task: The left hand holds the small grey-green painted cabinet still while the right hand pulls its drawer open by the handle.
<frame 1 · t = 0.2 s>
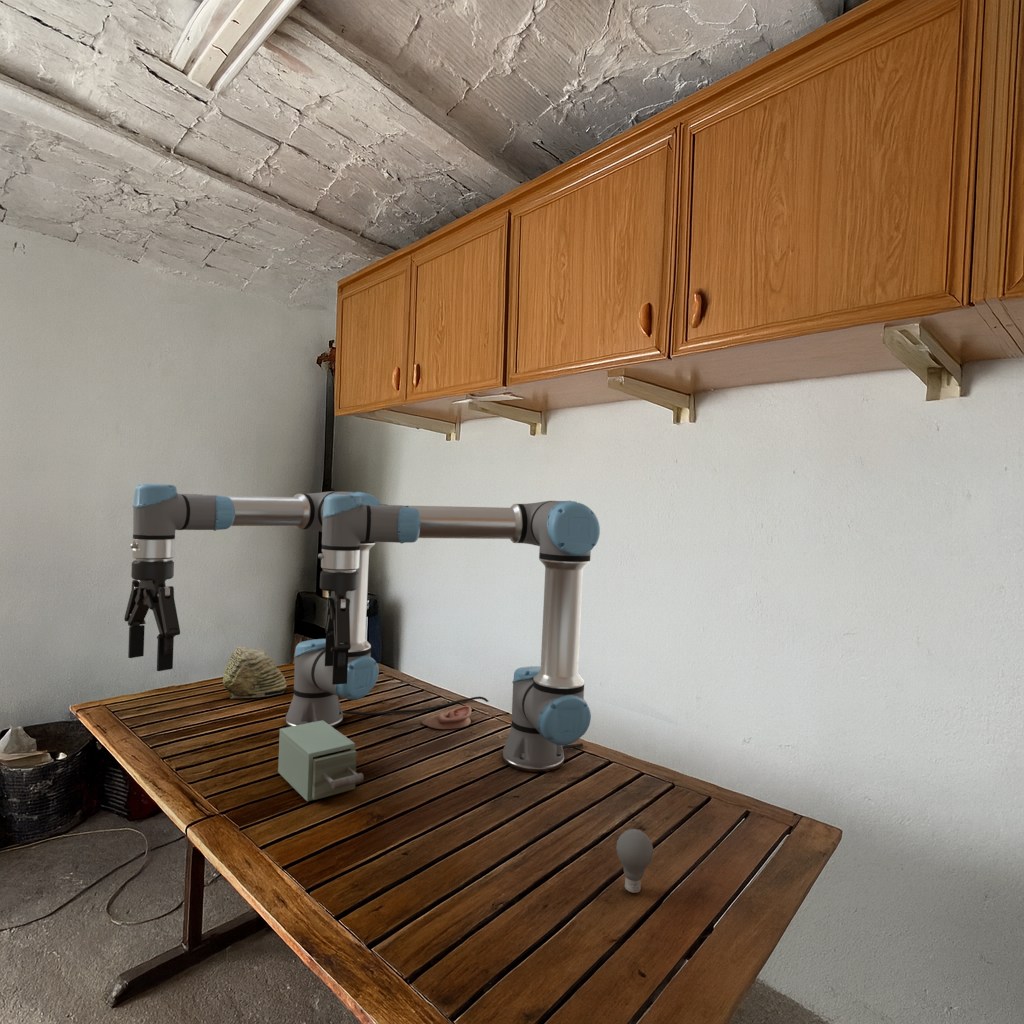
left hand: (149, 663, 129), 28 cm above the table, tool pointing down, fingers open, 13 cm apart
right hand: (335, 674, 129), 27 cm above the table, tool pointing down, fingers open, 13 cm apart
cabinet: (314, 780, 141), on the table
drawer: (326, 767, 137), point 5 cm above the table, slide at 0.9 cm
fossil: (254, 694, 198), on the table
anatomical model: (446, 723, 181), on the table
light bulb: (632, 891, 106), on the table
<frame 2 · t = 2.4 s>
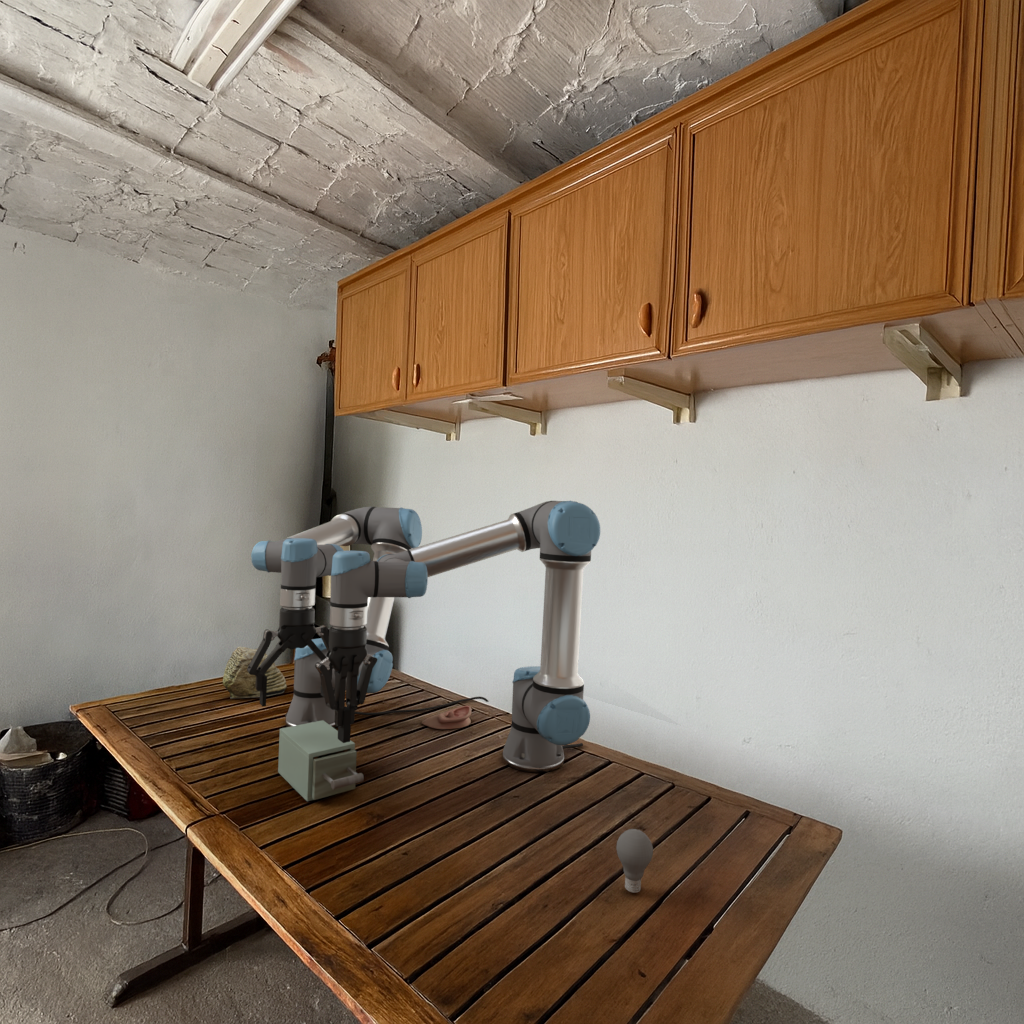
left hand: (294, 700, 144), 17 cm above the table, tool pointing down, fingers open, 13 cm apart
right hand: (343, 740, 130), 14 cm above the table, tool pointing down, fingers closed
nothing on the table moved.
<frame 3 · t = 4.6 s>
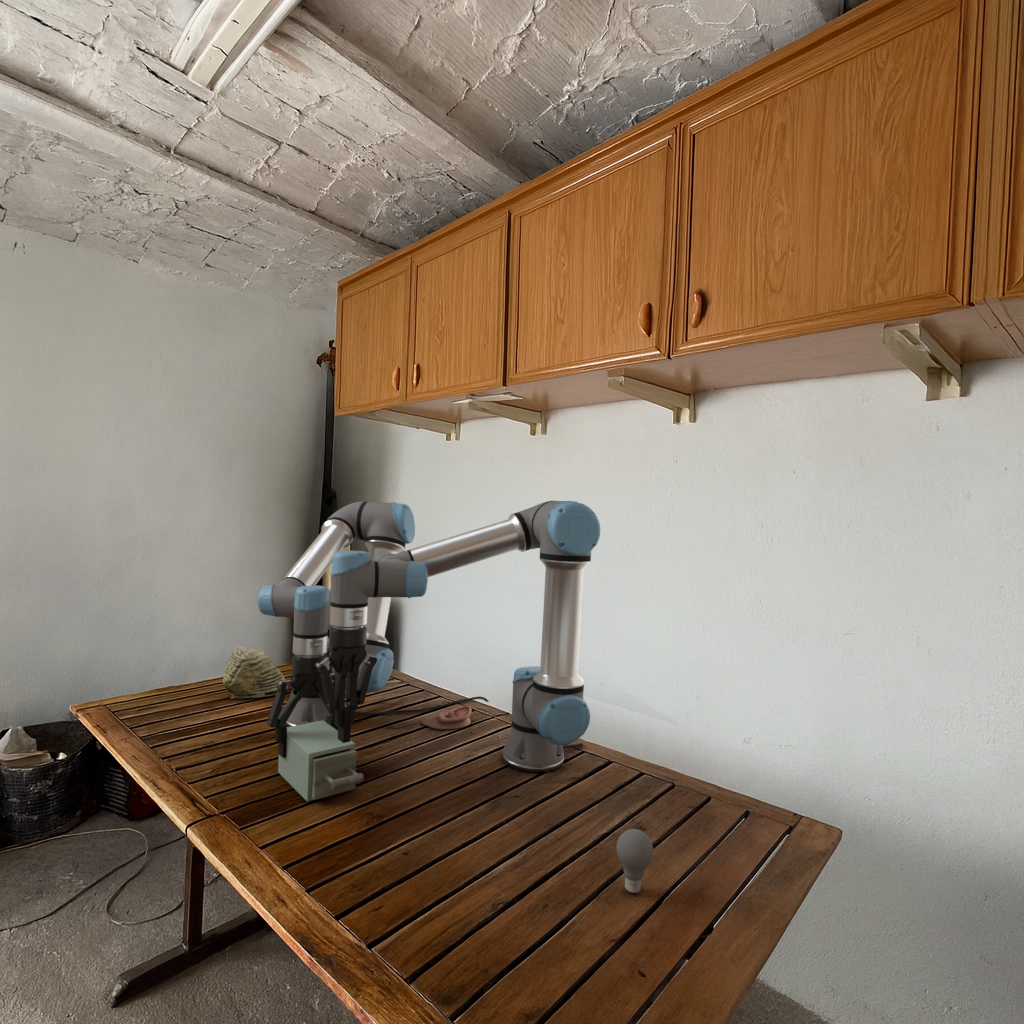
left hand: (306, 750, 145), 5 cm above the table, tool pointing down, fingers closed on cabinet, 10 cm apart
right hand: (343, 740, 130), 14 cm above the table, tool pointing down, fingers closed
cabinet: (314, 780, 141), on the table, touching left hand
everything else where it was.
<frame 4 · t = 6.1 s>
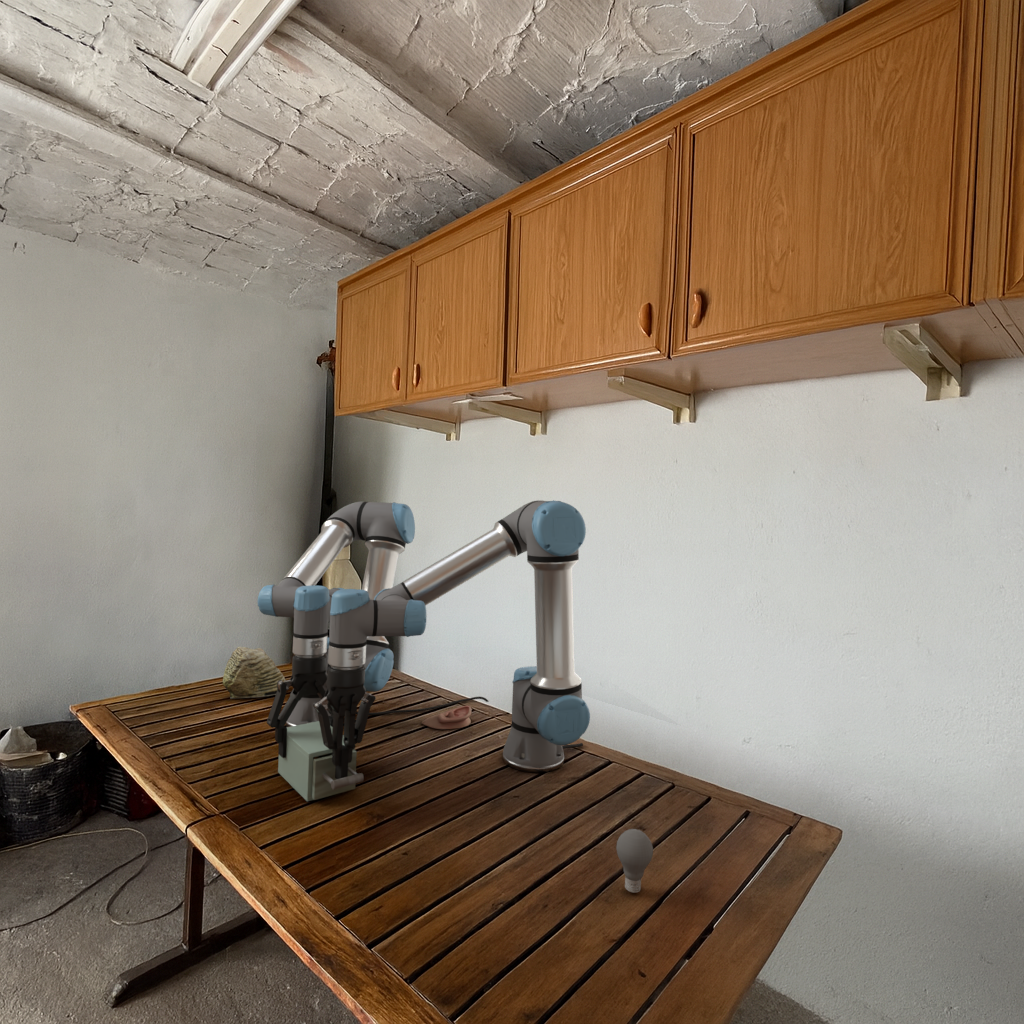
left hand: (306, 750, 145), 5 cm above the table, tool pointing down, fingers closed on cabinet, 10 cm apart
right hand: (341, 778, 130), 5 cm above the table, tool pointing down, fingers closed
cabinet: (314, 780, 141), on the table, touching left hand
drawer: (326, 767, 137), point 5 cm above the table, slide at 0.9 cm, touching right hand
everything else where it was.
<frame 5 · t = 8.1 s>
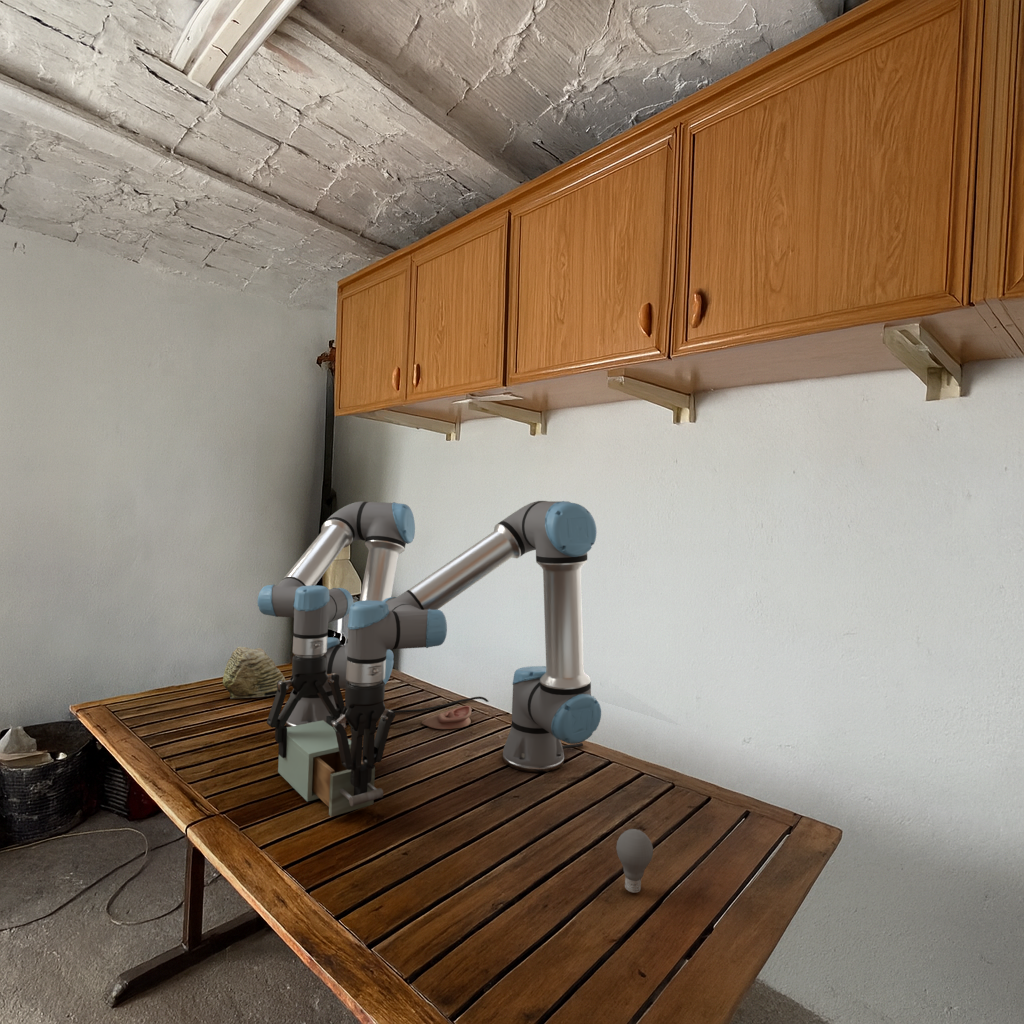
left hand: (306, 750, 145), 5 cm above the table, tool pointing down, fingers closed on cabinet, 10 cm apart
right hand: (360, 800, 124), 4 cm above the table, tool pointing down, fingers closed
cabinet: (314, 780, 141), on the table, touching left hand
drawer: (343, 781, 130), point 5 cm above the table, slide at 9.2 cm, touching right hand
everything else where it was.
when the left hand's fingers open (5 cm above the table, at t = 9.6 s): cabinet stays where it is, on the table.
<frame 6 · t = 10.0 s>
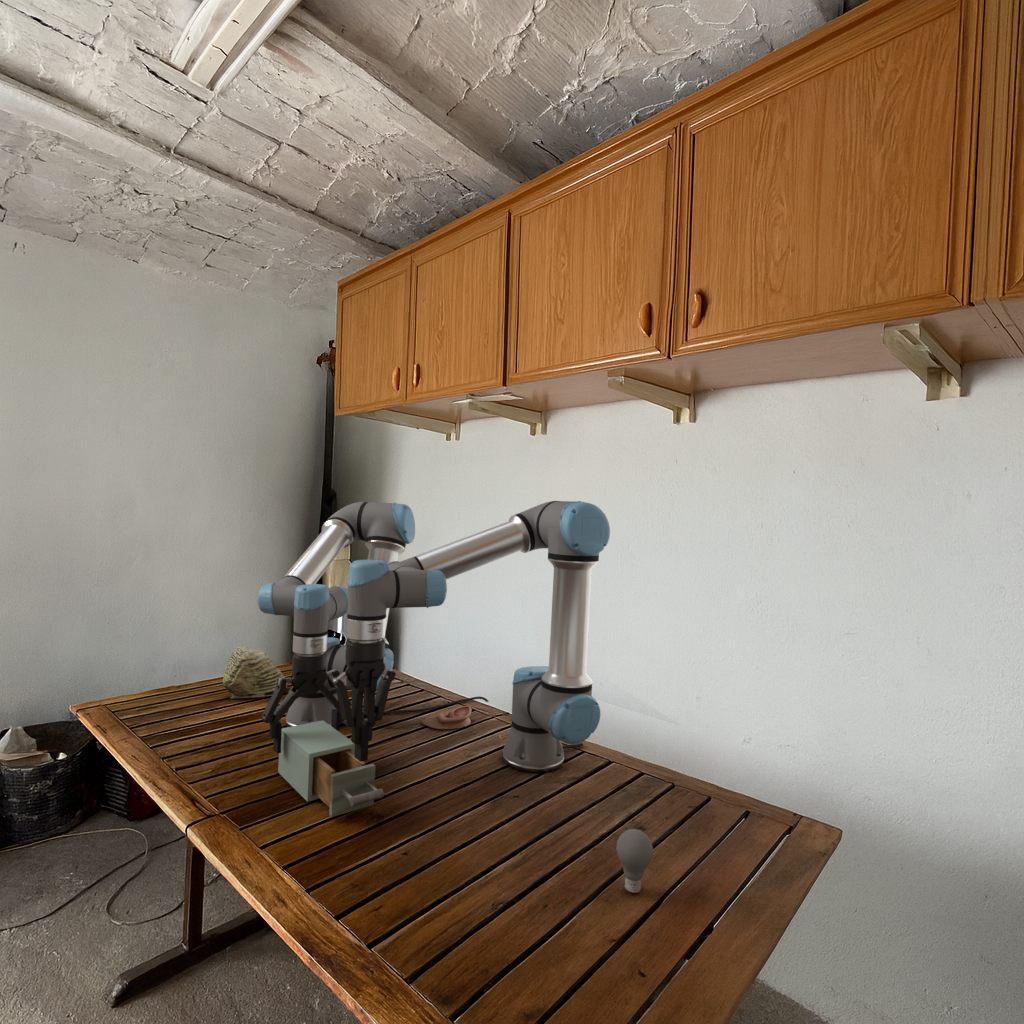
left hand: (306, 744, 145), 6 cm above the table, tool pointing down, fingers open, 13 cm apart
right hand: (360, 758, 124), 12 cm above the table, tool pointing down, fingers closed
cabinet: (314, 780, 141), on the table
drawer: (343, 782, 130), point 5 cm above the table, slide at 9.3 cm
everything else where it was.
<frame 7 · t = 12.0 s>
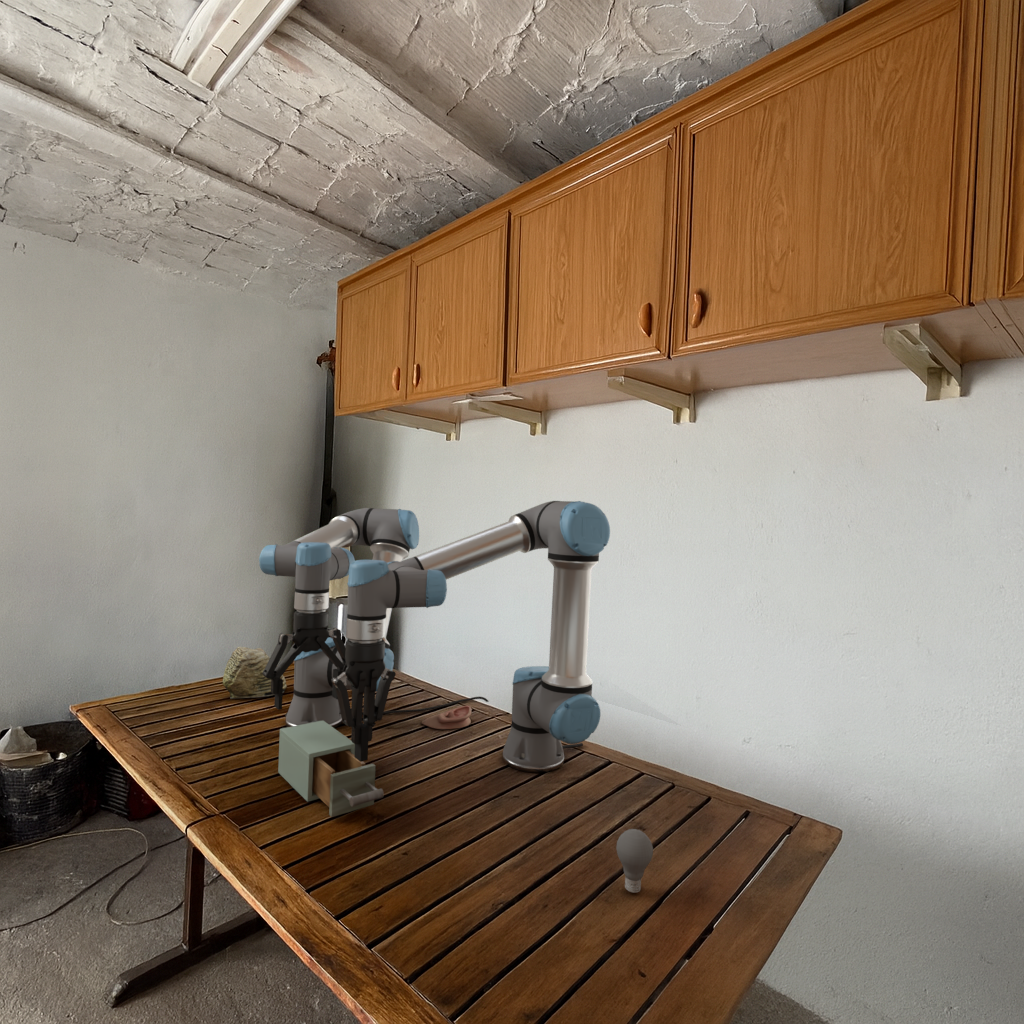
left hand: (307, 702, 145), 16 cm above the table, tool pointing down, fingers open, 13 cm apart
right hand: (360, 758, 124), 12 cm above the table, tool pointing down, fingers closed
nothing on the table moved.
at the end: drawer slide at 9.3 cm; cabinet tilted 0°; cabinet never tilted more than 1° during the clip; cabinet moved 0.1 cm from its start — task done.
